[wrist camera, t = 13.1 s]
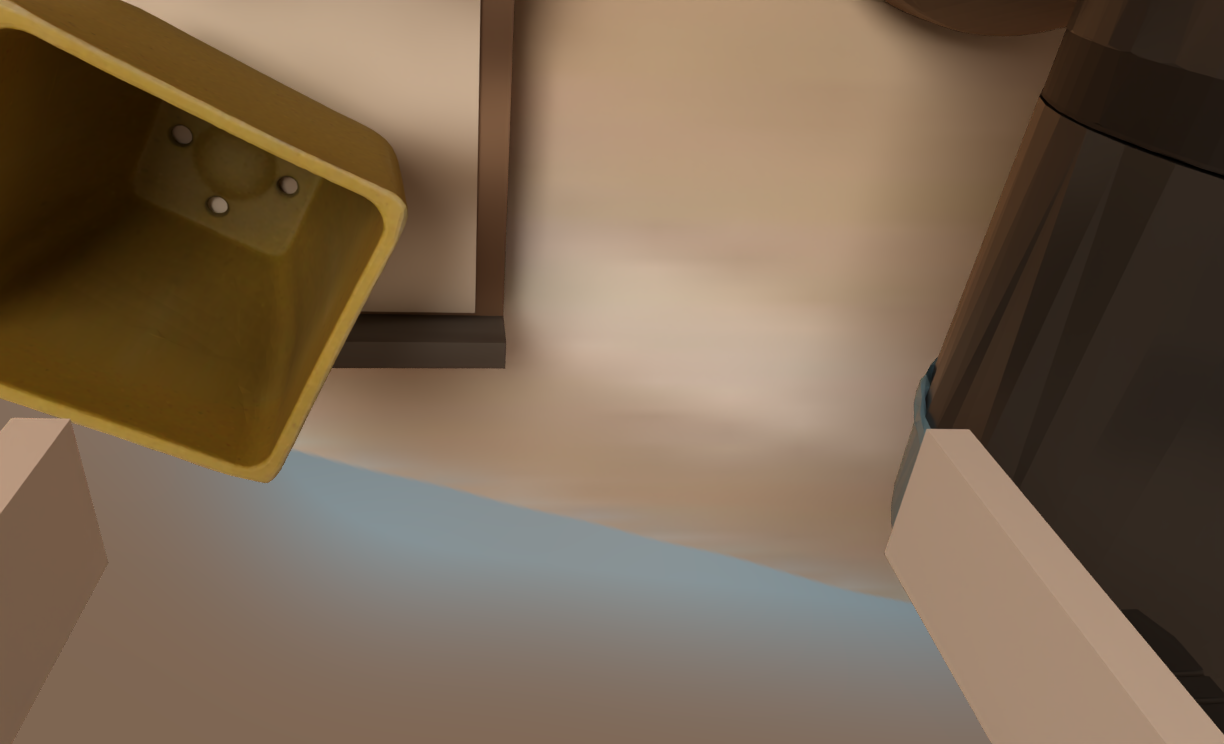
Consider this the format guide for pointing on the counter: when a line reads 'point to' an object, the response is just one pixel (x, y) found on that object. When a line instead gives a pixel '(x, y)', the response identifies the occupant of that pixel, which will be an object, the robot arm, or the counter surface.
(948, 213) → the counter surface
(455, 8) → the dock
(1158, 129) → the robot arm
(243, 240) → the flower pot
